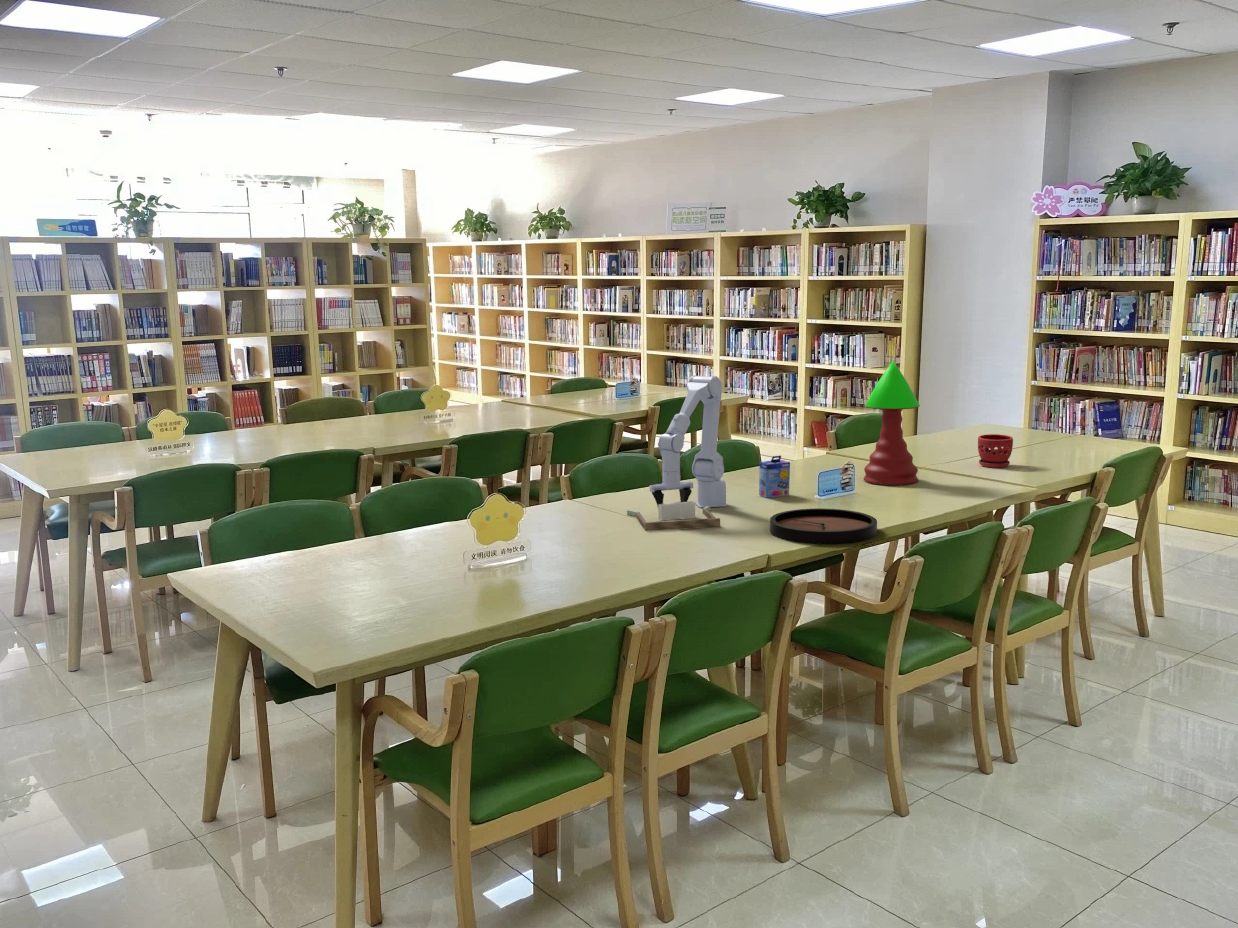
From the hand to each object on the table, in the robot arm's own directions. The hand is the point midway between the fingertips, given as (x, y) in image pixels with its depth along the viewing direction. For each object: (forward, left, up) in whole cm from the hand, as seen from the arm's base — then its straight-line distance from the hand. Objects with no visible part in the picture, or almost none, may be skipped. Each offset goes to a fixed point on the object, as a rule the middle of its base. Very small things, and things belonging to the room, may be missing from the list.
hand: (671, 511), depth 327 cm
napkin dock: (0, +6, -1) cm, 6 cm away
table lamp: (-90, -38, -2) cm, 98 cm away
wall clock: (-40, +32, -2) cm, 51 cm away
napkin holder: (-2, +4, -2) cm, 5 cm away
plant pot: (-141, -57, -2) cm, 152 cm away
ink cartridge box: (-41, -23, -2) cm, 47 cm away
